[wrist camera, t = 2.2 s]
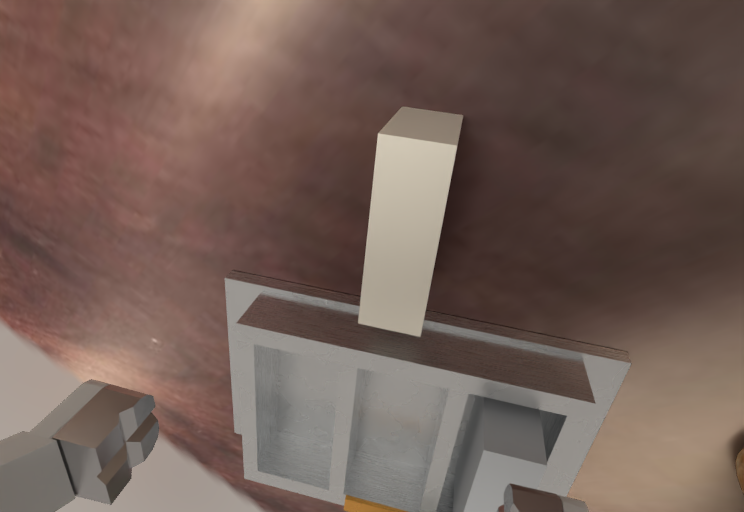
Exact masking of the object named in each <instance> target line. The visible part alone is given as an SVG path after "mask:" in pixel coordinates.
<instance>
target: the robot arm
mask: <svg viewBox="0 0 744 512" xmlns="http://www.w3.org/2000/svg"><path fill="white" fill-rule="evenodd" d="M154 408H155V402H154V398H153V396H151V395H147V394H144V393H140V392H137V391H133V390H129V389H126V388H122V387H118V386H115V385H111V384H108V383H104V382H100V381H96V380H92V379H91V380H89V381H87V382H84V383H83V384H81V385H80V386H79V387H78V388H77V389H76V390H75V391H74V392H73V393H72V394H71V395H69V396H68V397H67V398H66V399H65V400H64V401H63V402H62V403H61V404H60V405H58V406H57V407H56V408H55V409H54V410H53V411H52V412H51V413H50V414H49V415H48V416H47V417H45V418H44V419H43V420H42V421H41V422H40V423H39V424H38V425H37V426H36V427H34V428H33V429H32V430H31V431H30V432H25V431H22V432H20V433H17V434H15V435H13V436H10V437H8V438H6V439H3V440H1V441H0V512H55V511H57V510H58V509H60V508H61V507H63V506H64V505H66V504H68V503H69V502H71V501H72V500H74V499H75V496H78V497H82V498H86V499H90V500H94V501H98V502H102V503H106V504H110V505H111V504H112V503H113V502H114V500H115V499H116V498H117V496H118V495H119V494H120V492H121V491H122V490H123V489H124V487H125V486H126V485H127V483H128V482H129V481H130V479H131V473H132V472H131V471H132V467H134V466H136V465H138V464H140V463H142V462H144V461H145V459H146V458H147V457H148V455H149V454H150V452H151V451H152V450H153V447H154V445H155V443H156V440H157V438H158V432H159V424H158V420H157V418H156V417H155V416H154V415H153V414H152V413H151V411H152V410H153V409H154ZM497 512H589V510H588V507H587V505H586V504H585V502H584V501H581V500H577V499H572V498H568V497H564V496H560V495H557V494H554V493H550V492H546V491H541V490H537V489H533V488H529V487H524V486H520V485H516V484H511V483H509V484H508V485H507V486H506V489H505V491H504V504H503V505H501V506H499V507H498V510H497Z"/></svg>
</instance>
